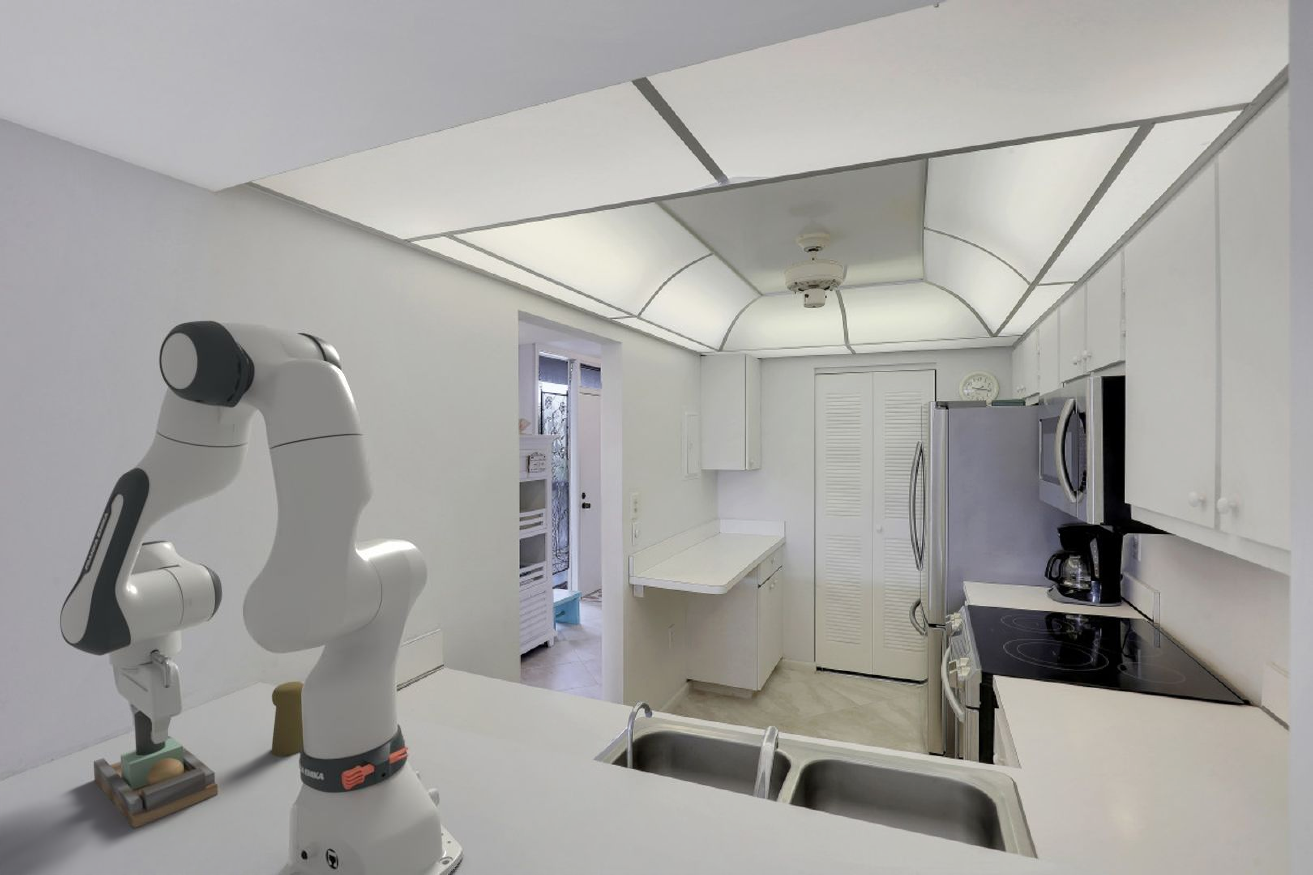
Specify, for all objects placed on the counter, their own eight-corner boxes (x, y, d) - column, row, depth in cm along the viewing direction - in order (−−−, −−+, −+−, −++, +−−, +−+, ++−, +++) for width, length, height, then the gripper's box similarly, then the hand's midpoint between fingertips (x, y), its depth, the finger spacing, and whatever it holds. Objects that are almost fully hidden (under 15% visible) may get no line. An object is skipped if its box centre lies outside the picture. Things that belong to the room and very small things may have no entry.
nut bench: (217, 793, 96) (216, 767, 96) (134, 828, 88) (133, 799, 88) (170, 753, 109) (169, 730, 109) (94, 779, 101) (93, 754, 101)
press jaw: (183, 770, 100) (181, 708, 100) (131, 790, 95) (127, 724, 95) (173, 761, 103) (170, 700, 103) (121, 780, 98) (118, 716, 98)
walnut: (188, 786, 96) (187, 757, 96) (152, 800, 92) (151, 770, 92) (179, 777, 98) (177, 749, 98) (143, 791, 95) (142, 762, 95)
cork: (293, 757, 106) (290, 692, 106) (262, 754, 108) (259, 690, 108) (319, 739, 112) (316, 678, 112) (289, 737, 114) (287, 676, 113)
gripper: (193, 651, 95) (197, 742, 95) (151, 629, 108) (155, 710, 108) (140, 664, 90) (145, 761, 90) (103, 639, 103) (107, 724, 103)
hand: (150, 733), depth 99 cm, fingers open, 8 cm apart
